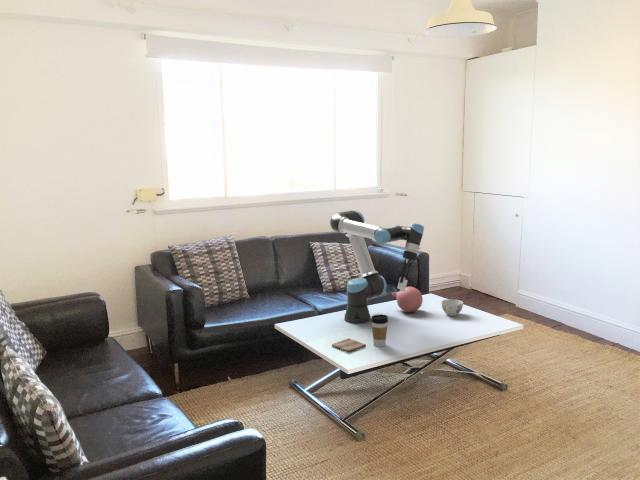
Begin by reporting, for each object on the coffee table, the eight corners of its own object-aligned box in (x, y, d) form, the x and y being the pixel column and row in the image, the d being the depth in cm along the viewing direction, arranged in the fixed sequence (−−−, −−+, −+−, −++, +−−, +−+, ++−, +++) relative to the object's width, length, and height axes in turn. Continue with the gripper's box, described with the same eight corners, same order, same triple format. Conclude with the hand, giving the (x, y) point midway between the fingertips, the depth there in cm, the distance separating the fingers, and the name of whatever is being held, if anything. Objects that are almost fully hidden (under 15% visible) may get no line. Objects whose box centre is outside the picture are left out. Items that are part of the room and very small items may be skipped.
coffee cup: (387, 348, 267) (387, 319, 264) (370, 347, 269) (370, 318, 266) (388, 342, 275) (388, 313, 272) (372, 341, 277) (371, 313, 274)
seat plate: (331, 346, 270) (331, 344, 270) (348, 340, 278) (348, 338, 278) (348, 353, 262) (348, 350, 261) (365, 346, 270) (365, 344, 269)
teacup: (445, 310, 325) (446, 297, 324) (466, 313, 318) (466, 300, 317) (436, 317, 313) (436, 303, 312) (456, 320, 306) (457, 307, 305)
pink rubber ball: (399, 305, 338) (399, 281, 335) (427, 311, 325) (427, 286, 322) (385, 311, 327) (385, 286, 324) (413, 317, 314) (413, 291, 311)
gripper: (415, 250, 276) (405, 290, 274) (419, 256, 300) (409, 293, 298) (401, 246, 278) (391, 286, 276) (406, 253, 302) (396, 290, 300)
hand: (400, 290), depth 287 cm, fingers open, 13 cm apart
